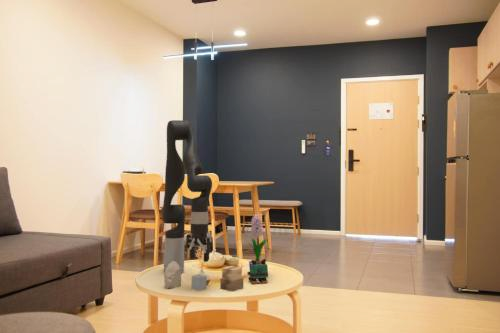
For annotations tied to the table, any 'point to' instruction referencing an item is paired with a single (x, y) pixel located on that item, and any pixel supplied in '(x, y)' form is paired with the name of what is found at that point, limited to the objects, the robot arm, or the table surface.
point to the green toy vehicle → (258, 272)
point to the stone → (172, 275)
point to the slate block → (199, 282)
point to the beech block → (232, 273)
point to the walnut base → (231, 284)
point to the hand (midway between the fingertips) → (199, 260)
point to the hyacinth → (258, 233)
